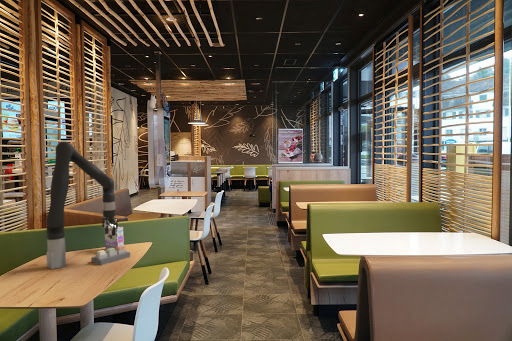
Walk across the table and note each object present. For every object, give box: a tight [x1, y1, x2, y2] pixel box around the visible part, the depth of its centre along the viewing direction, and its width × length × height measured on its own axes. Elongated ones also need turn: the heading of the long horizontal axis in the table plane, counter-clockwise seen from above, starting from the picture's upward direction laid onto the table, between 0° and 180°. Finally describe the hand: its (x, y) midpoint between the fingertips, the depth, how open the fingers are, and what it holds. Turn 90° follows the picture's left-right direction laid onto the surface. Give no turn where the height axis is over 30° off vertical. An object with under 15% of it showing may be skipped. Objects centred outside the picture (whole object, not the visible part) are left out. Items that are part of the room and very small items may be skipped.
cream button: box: [96, 249, 107, 256], centre depth 219 cm, size 4×4×2 cm
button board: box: [91, 248, 131, 266], centre depth 224 cm, size 20×11×5 cm, turn 143°
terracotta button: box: [116, 245, 125, 251], centre depth 229 cm, size 4×4×2 cm
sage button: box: [106, 248, 115, 253], centre depth 224 cm, size 4×4×2 cm
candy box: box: [103, 226, 125, 251], centre depth 246 cm, size 14×6×16 cm, turn 58°
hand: (110, 234), depth 224 cm, fingers open, 7 cm apart
